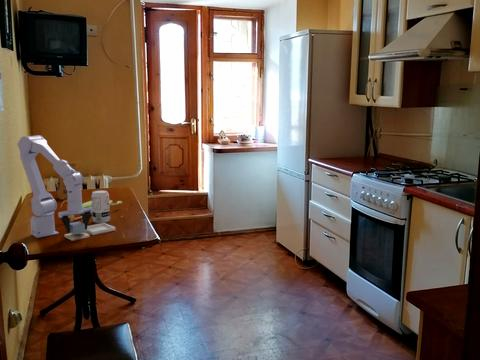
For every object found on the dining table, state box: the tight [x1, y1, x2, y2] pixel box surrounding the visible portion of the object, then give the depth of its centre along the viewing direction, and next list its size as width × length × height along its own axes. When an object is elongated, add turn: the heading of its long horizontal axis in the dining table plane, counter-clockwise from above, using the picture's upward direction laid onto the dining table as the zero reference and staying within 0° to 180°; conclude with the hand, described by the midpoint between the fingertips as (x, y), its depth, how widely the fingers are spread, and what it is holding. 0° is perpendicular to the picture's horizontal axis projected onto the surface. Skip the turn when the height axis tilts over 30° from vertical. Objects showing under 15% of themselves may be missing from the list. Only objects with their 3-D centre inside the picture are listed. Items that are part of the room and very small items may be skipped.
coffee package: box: [56, 161, 78, 201], centre depth 280 cm, size 10×12×22 cm
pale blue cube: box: [69, 221, 86, 235], centre depth 200 cm, size 5×6×4 cm
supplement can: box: [90, 190, 111, 224], centre depth 225 cm, size 8×8×15 cm
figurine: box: [60, 199, 75, 223], centre depth 225 cm, size 8×6×12 cm
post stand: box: [63, 232, 91, 242], centre depth 200 cm, size 8×8×5 cm
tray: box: [85, 222, 116, 236], centre depth 210 cm, size 11×11×2 cm
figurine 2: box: [82, 199, 123, 216], centre depth 249 cm, size 18×27×6 cm
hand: (76, 230), depth 200 cm, fingers open, 7 cm apart
